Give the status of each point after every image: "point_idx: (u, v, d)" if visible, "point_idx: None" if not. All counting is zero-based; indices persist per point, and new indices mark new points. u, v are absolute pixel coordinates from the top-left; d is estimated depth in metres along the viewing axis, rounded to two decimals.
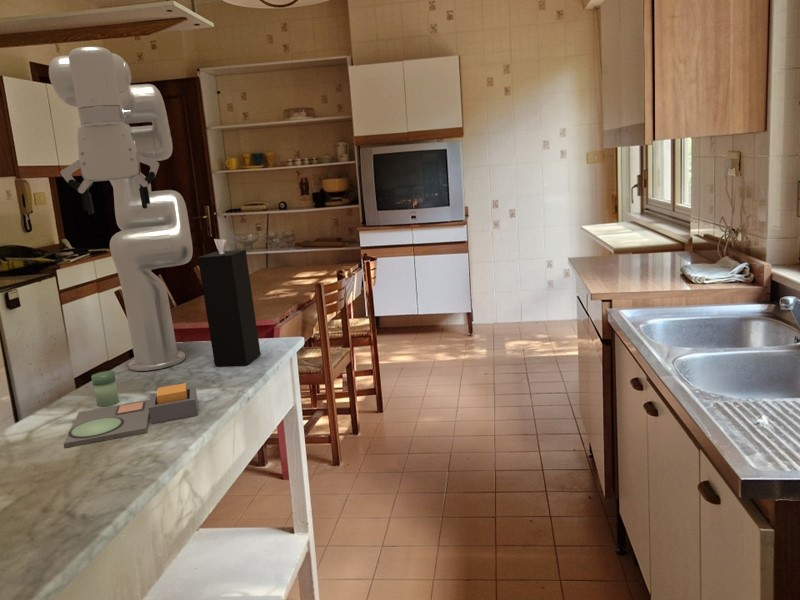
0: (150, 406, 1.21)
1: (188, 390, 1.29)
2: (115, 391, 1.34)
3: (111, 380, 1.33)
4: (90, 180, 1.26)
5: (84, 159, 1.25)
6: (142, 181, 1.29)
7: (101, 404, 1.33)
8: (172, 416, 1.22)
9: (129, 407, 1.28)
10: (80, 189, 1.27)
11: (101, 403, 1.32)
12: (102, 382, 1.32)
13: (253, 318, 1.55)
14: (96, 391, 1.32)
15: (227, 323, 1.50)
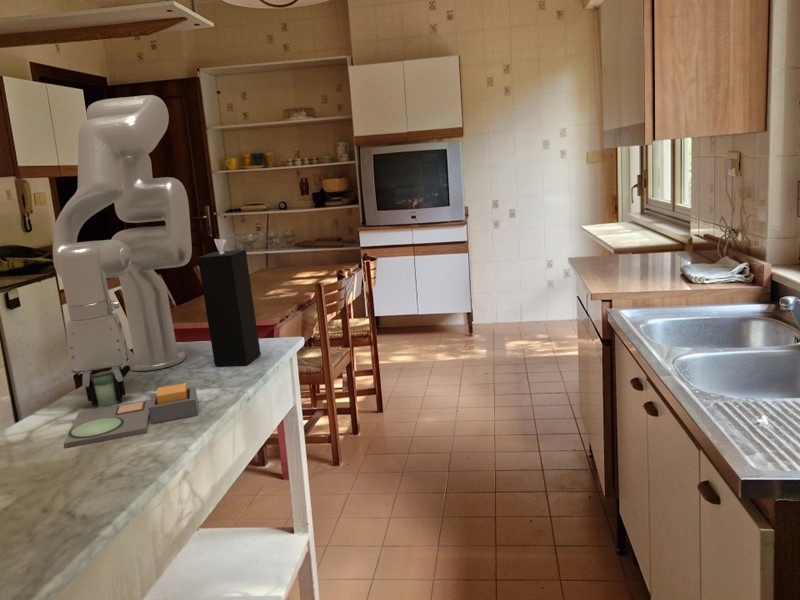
0: (150, 406, 1.21)
1: (188, 390, 1.29)
2: (115, 391, 1.34)
3: (111, 380, 1.33)
4: (79, 371, 1.30)
5: (73, 353, 1.29)
6: (117, 376, 1.33)
7: (101, 404, 1.33)
8: (172, 416, 1.22)
9: (129, 407, 1.28)
10: (84, 384, 1.32)
11: (101, 403, 1.32)
12: (102, 382, 1.31)
13: (253, 318, 1.55)
14: (96, 391, 1.32)
15: (227, 323, 1.50)
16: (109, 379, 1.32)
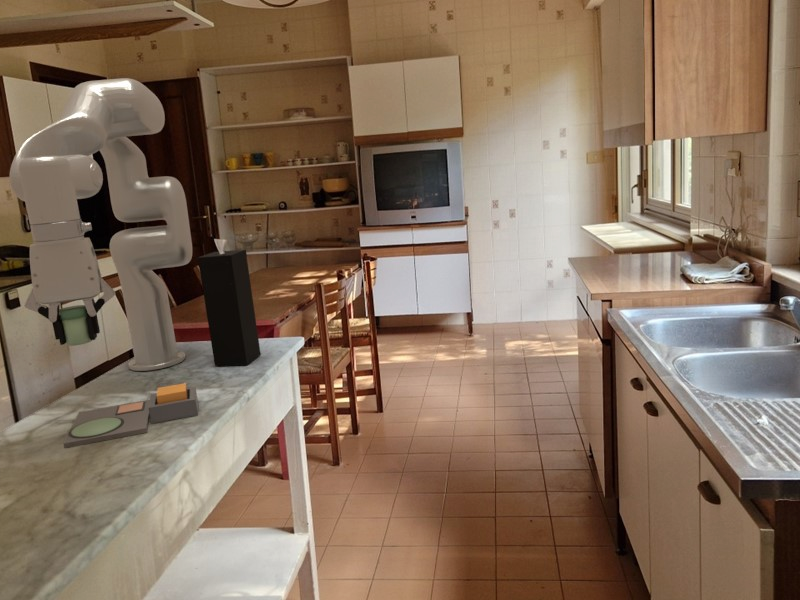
0: (150, 406, 1.21)
1: (188, 390, 1.29)
2: (87, 328, 1.15)
3: (82, 315, 1.14)
4: (44, 303, 1.12)
5: (37, 281, 1.11)
6: (89, 310, 1.14)
7: (70, 342, 1.14)
8: (172, 416, 1.22)
9: (129, 407, 1.28)
10: (51, 318, 1.13)
11: (70, 341, 1.14)
12: (71, 316, 1.13)
13: (253, 318, 1.55)
14: (65, 327, 1.14)
15: (227, 323, 1.50)
16: (80, 313, 1.14)
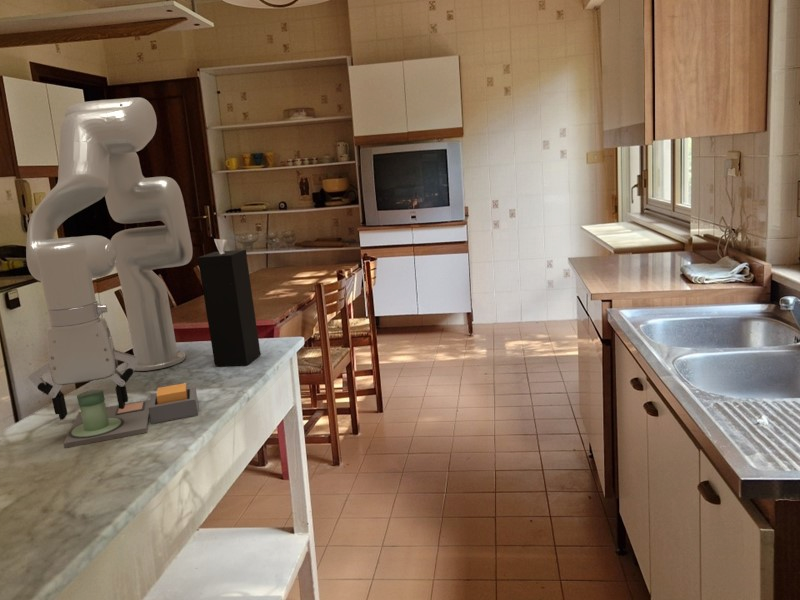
0: (150, 406, 1.21)
1: (188, 390, 1.29)
2: (104, 413, 1.18)
3: (100, 401, 1.17)
4: (61, 384, 1.15)
5: (54, 363, 1.14)
6: (119, 380, 1.18)
7: (88, 428, 1.17)
8: (172, 416, 1.22)
9: (129, 407, 1.28)
10: (50, 394, 1.15)
11: (88, 427, 1.17)
12: (89, 403, 1.16)
13: (253, 318, 1.55)
14: (83, 413, 1.17)
15: (227, 323, 1.50)
16: (97, 399, 1.17)
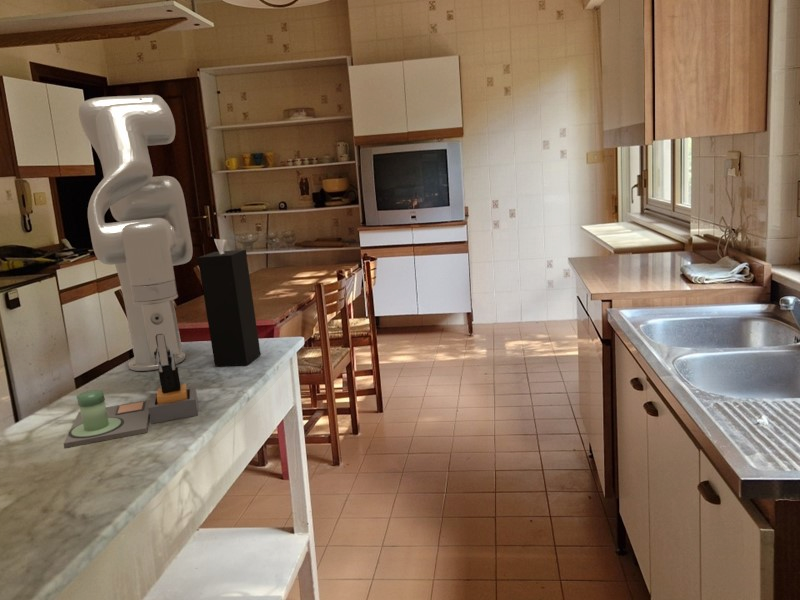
0: (150, 406, 1.21)
1: (188, 390, 1.29)
2: (104, 413, 1.18)
3: (99, 401, 1.17)
4: None
5: None
6: None
7: (88, 428, 1.17)
8: (172, 416, 1.22)
9: (129, 407, 1.28)
10: None
11: (88, 427, 1.17)
12: (89, 404, 1.16)
13: (253, 318, 1.55)
14: (83, 414, 1.17)
15: (227, 323, 1.50)
16: (97, 400, 1.17)
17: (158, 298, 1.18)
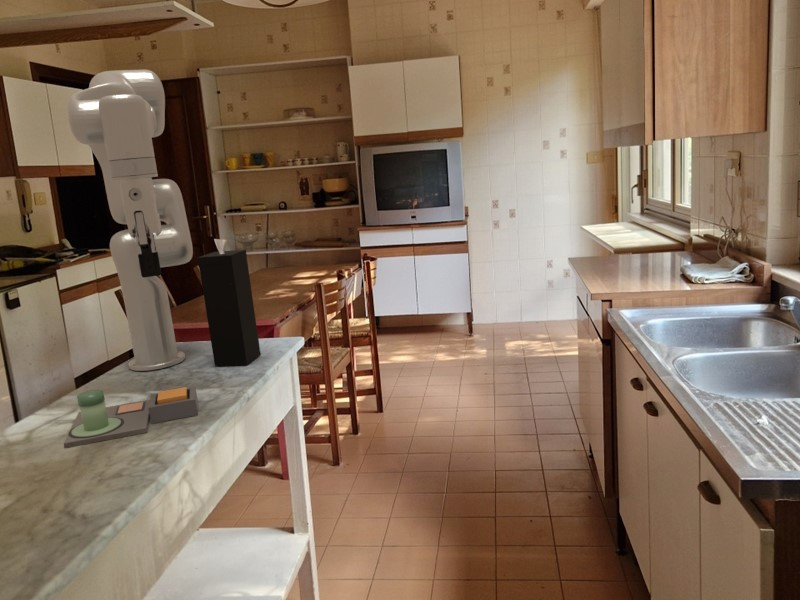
0: (150, 406, 1.21)
1: (188, 390, 1.29)
2: (104, 413, 1.18)
3: (100, 401, 1.17)
4: None
5: None
6: None
7: (88, 428, 1.17)
8: (172, 416, 1.22)
9: (129, 407, 1.28)
10: None
11: (88, 427, 1.17)
12: (89, 403, 1.16)
13: (253, 318, 1.55)
14: (83, 414, 1.17)
15: (227, 323, 1.50)
16: (97, 399, 1.17)
17: (136, 173, 1.14)
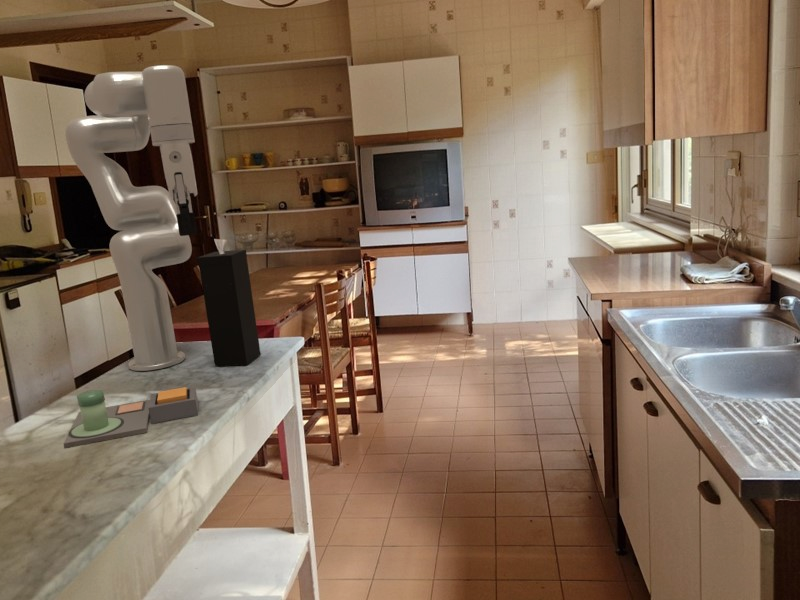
0: (150, 406, 1.21)
1: (188, 390, 1.29)
2: (104, 413, 1.18)
3: (100, 401, 1.17)
4: None
5: None
6: None
7: (88, 428, 1.17)
8: (172, 416, 1.22)
9: (129, 407, 1.28)
10: None
11: (88, 427, 1.17)
12: (89, 403, 1.16)
13: (253, 318, 1.55)
14: (83, 414, 1.17)
15: (227, 323, 1.50)
16: (97, 399, 1.17)
17: (176, 138, 1.24)
